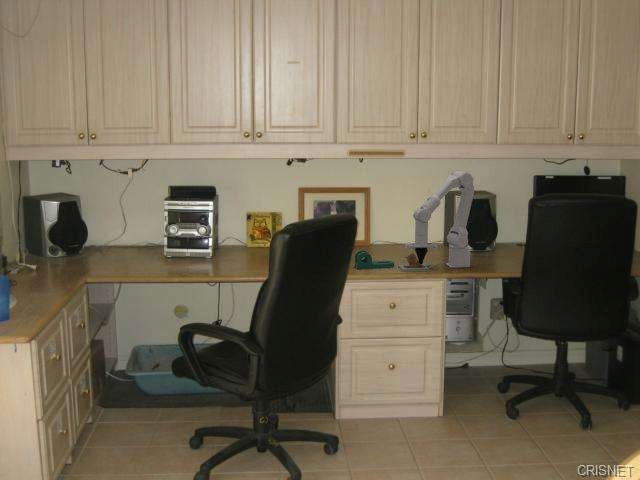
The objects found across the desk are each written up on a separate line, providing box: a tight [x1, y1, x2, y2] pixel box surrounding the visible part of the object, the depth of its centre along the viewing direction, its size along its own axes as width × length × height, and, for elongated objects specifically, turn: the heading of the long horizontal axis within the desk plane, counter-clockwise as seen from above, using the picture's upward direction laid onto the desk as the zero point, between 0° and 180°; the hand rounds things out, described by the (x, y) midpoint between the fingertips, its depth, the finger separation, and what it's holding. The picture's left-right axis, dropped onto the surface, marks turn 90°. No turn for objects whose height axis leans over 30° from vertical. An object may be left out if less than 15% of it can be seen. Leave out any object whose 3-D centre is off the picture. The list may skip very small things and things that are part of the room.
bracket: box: [354, 249, 395, 270], centre depth 322 cm, size 18×7×8 cm, turn 98°
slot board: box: [398, 264, 430, 273], centre depth 318 cm, size 12×9×1 cm
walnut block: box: [405, 252, 421, 268], centre depth 317 cm, size 4×4×6 cm
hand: (420, 264), depth 318 cm, fingers closed
